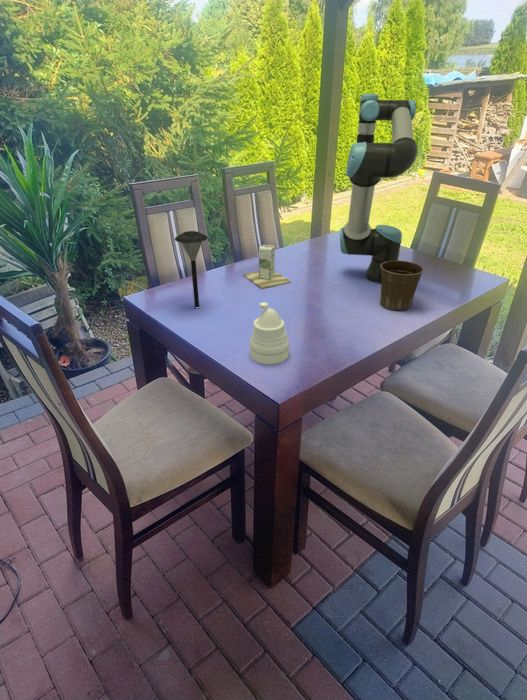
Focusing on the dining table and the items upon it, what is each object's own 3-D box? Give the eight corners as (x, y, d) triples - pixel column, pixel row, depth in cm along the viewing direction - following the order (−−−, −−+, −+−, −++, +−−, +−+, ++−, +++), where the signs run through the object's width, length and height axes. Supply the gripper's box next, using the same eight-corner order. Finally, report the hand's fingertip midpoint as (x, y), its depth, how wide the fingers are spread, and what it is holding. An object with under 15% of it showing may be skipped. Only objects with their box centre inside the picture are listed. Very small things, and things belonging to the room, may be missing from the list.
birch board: (290, 282, 200) (290, 280, 200) (261, 289, 194) (261, 287, 194) (270, 270, 214) (270, 268, 213) (243, 275, 208) (243, 273, 207)
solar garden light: (205, 316, 172) (199, 239, 156) (176, 312, 175) (168, 236, 159) (217, 303, 182) (212, 230, 166) (189, 299, 185) (183, 227, 169)
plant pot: (384, 293, 190) (390, 257, 182) (421, 302, 182) (429, 265, 174) (368, 306, 179) (373, 268, 171) (407, 317, 171) (415, 277, 163)
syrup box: (274, 276, 205) (275, 245, 197) (270, 280, 200) (270, 249, 193) (263, 274, 207) (263, 243, 199) (258, 278, 202) (258, 247, 194)
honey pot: (243, 360, 144) (242, 310, 135) (258, 341, 155) (258, 294, 145) (281, 367, 140) (282, 317, 131) (293, 348, 151) (295, 300, 142)
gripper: (342, 131, 207) (338, 179, 218) (378, 136, 188) (371, 188, 199) (354, 131, 210) (350, 178, 221) (391, 135, 191) (384, 187, 202)
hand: (360, 183), depth 210 cm, fingers open, 13 cm apart
